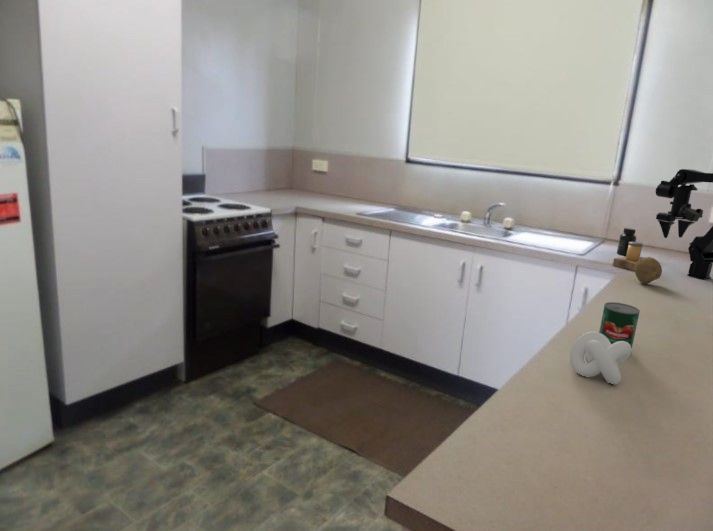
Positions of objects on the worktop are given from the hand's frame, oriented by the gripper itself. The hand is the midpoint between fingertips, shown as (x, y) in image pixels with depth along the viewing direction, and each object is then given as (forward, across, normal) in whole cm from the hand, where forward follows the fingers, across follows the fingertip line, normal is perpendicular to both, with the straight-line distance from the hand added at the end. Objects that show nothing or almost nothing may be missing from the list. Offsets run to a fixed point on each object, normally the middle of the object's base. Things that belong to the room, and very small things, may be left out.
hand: (672, 237), depth 229 cm
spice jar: (+10, -18, +3) cm, 21 cm away
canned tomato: (+13, -103, -61) cm, 120 cm away
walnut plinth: (+13, -18, +3) cm, 22 cm away
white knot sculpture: (+14, -120, -72) cm, 141 cm away
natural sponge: (+13, -35, -17) cm, 41 cm away
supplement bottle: (+13, +2, +22) cm, 26 cm away
